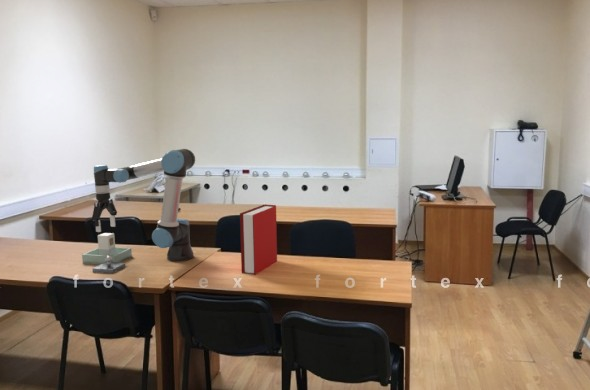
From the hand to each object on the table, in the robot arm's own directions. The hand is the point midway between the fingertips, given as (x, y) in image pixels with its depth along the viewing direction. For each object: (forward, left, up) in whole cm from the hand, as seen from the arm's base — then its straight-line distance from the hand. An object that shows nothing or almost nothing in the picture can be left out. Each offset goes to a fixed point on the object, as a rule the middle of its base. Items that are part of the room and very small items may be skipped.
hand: (106, 229), depth 285 cm
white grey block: (0, 0, -17) cm, 17 cm away
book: (-91, -6, -18) cm, 93 cm away
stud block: (-12, +16, -18) cm, 27 cm away
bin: (0, 0, -18) cm, 18 cm away
